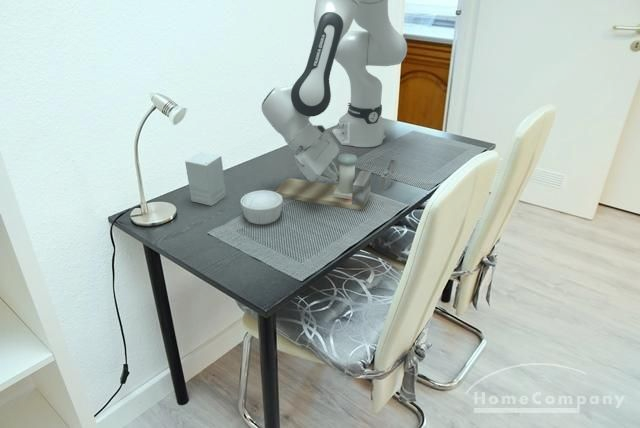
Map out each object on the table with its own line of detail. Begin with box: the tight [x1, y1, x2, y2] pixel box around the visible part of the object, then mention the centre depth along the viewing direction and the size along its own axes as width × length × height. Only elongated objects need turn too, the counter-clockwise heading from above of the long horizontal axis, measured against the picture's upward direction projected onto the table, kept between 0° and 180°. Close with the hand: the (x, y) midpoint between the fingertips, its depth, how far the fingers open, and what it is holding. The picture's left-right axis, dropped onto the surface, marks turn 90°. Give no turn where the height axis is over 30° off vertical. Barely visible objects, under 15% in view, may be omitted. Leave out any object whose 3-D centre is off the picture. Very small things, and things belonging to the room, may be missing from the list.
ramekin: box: [239, 189, 284, 225], centre depth 121 cm, size 11×11×5 cm
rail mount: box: [275, 170, 372, 211], centre depth 131 cm, size 26×10×8 cm, turn 72°
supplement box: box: [184, 151, 227, 207], centre depth 128 cm, size 7×7×13 cm
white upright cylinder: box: [333, 153, 358, 200], centre depth 127 cm, size 6×6×11 cm
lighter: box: [379, 158, 398, 191], centre depth 137 cm, size 7×2×8 cm, turn 146°
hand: (337, 178), depth 129 cm, fingers closed, pressing on white upright cylinder
